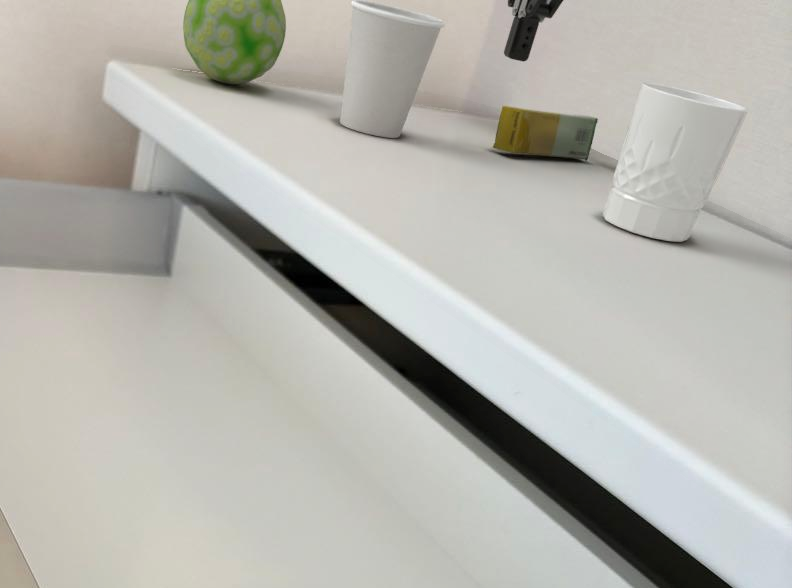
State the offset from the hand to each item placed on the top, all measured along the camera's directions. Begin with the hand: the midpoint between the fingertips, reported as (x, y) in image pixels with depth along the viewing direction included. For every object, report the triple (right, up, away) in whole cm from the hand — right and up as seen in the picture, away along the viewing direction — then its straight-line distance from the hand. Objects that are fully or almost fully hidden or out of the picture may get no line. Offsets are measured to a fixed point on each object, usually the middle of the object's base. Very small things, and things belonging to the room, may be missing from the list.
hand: (514, 58), depth 113 cm
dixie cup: (-16, -12, -12) cm, 24 cm away
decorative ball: (-30, -5, -6) cm, 31 cm away
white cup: (+4, -25, -26) cm, 37 cm away
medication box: (+1, -12, -6) cm, 14 cm away
